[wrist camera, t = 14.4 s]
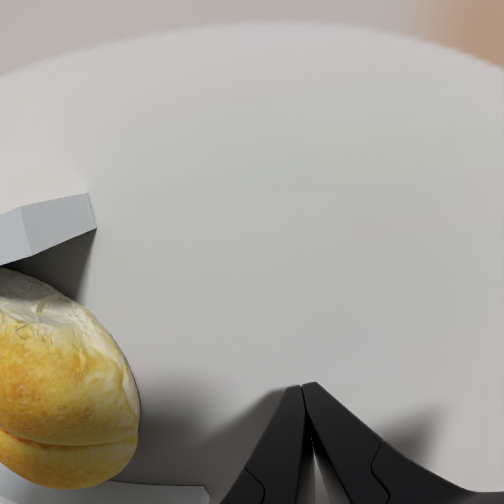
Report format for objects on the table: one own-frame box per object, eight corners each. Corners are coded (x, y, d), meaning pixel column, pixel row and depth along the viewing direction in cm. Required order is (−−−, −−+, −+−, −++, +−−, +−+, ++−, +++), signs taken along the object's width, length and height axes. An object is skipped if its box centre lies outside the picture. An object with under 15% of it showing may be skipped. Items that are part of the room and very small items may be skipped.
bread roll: (-9, 404, 11) (-49, 448, 7) (-24, 238, 9) (-101, 268, 5) (134, 479, 11) (111, 545, 7) (170, 327, 9) (123, 418, 5)
